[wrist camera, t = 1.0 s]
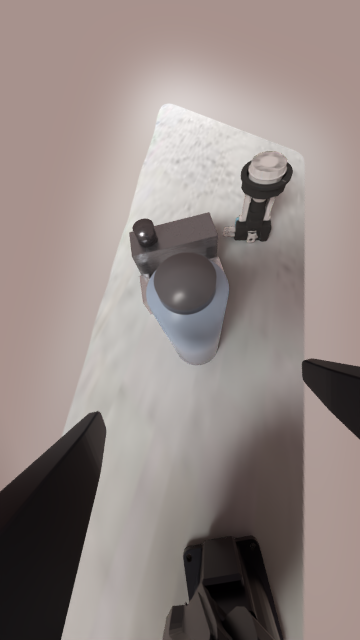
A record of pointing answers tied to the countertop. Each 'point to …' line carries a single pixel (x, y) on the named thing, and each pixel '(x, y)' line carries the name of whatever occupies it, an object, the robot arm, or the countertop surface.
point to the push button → (260, 195)
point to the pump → (189, 304)
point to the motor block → (171, 244)
